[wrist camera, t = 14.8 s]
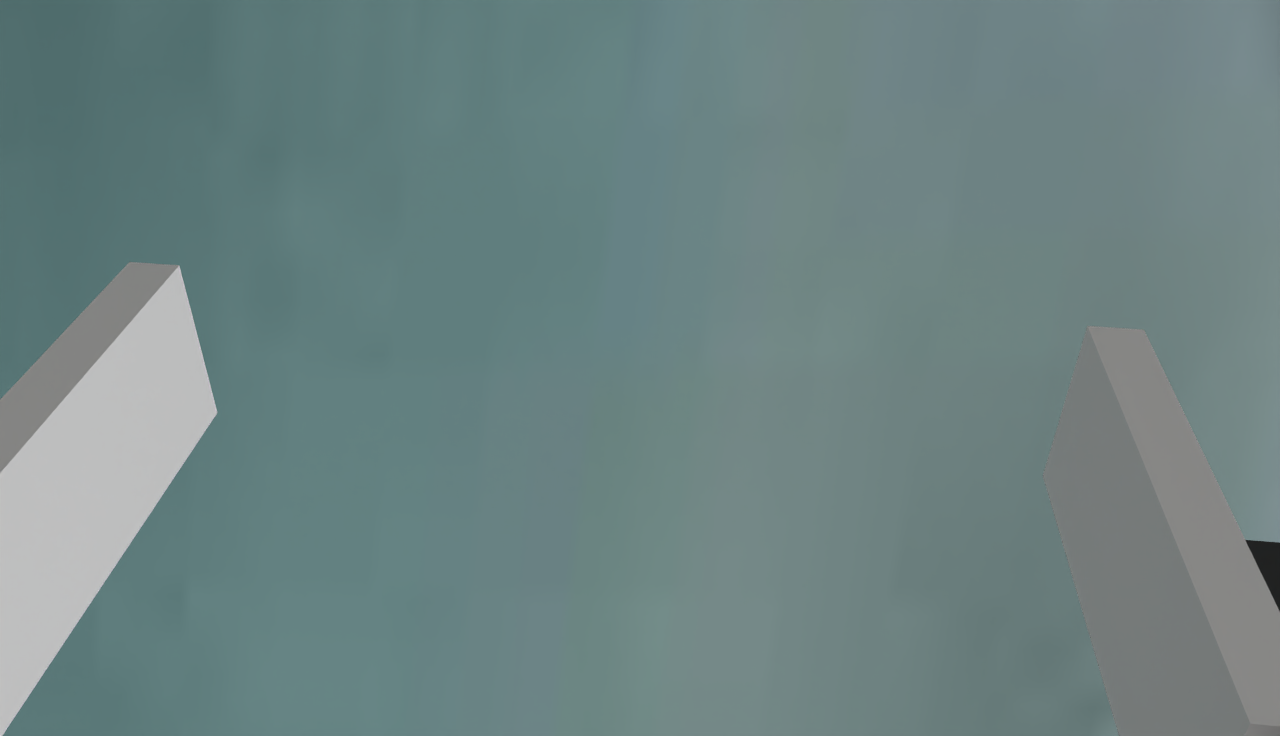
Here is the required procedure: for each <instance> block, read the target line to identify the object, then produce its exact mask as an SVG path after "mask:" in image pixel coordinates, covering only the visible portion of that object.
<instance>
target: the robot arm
mask: <svg viewBox="0 0 1280 736" xmlns="http://www.w3.org/2000/svg"><path fill="white" fill-rule="evenodd" d="M216 414H217V410H216V406H215V402H214V398H213V394H212V390H211V386H210V383H209V379H208V375H207V371H206V367H205V363H204V359H203V355H202V352H201V348H200V344H199V340H198V336H197V332H196V328H195V325H194V321H193V317H192V313H191V309H190V305H189V301H188V297H187V294H186V290H185V286H184V282H183V278H182V274H181V270H180V267H179V265H165V264H150V263H135V262H129V263H128V264H127V265H126V266H125V267H124V268H123V270H122V271H121V272H120V273H119V274H118V275H117V276H116V277H115V278H114V279H113V280H112V281H111V282H110V283H109V284H108V286H107V287H106V288H105V289H104V290H103V291H102V292H101V293H100V294H99V295H98V296H97V297H96V298H95V299H94V300H93V302H92V303H91V304H90V305H89V306H88V307H87V308H86V309H85V310H84V311H83V312H82V313H81V314H80V315H79V316H78V318H77V319H76V320H75V321H74V322H73V323H72V324H71V325H70V326H69V327H68V328H67V329H66V330H65V331H64V332H63V333H62V335H61V336H60V337H59V338H58V339H57V340H56V341H55V342H54V343H53V344H52V345H51V346H50V347H49V348H48V349H47V351H46V352H45V353H44V354H43V355H42V356H41V357H40V358H39V359H38V360H37V361H36V362H35V363H34V364H33V365H32V367H31V368H30V369H29V370H28V371H27V372H26V373H25V374H24V375H23V376H22V377H21V378H20V379H19V380H18V381H17V383H16V384H15V385H14V386H13V387H12V388H11V389H10V390H9V391H8V392H7V393H6V394H5V395H4V396H3V397H2V399H1V400H0V736H2V735H3V734H4V732H5V731H6V729H7V728H8V726H9V725H10V723H11V722H12V720H13V719H14V717H15V716H16V714H17V713H18V711H19V710H20V708H21V707H22V705H23V704H24V702H25V701H26V699H27V698H28V696H29V695H30V693H31V692H32V690H33V689H34V687H35V686H36V684H37V683H38V681H39V680H40V678H41V677H42V675H43V674H44V672H45V671H46V669H47V668H48V666H49V665H50V663H51V662H52V660H53V659H54V657H55V656H56V654H57V653H58V651H59V650H60V648H61V647H62V645H63V644H64V642H65V641H66V639H67V638H68V636H69V635H70V633H71V632H72V630H73V629H74V627H75V626H76V624H77V623H78V621H79V620H80V618H81V617H82V615H83V614H84V612H85V611H86V609H87V608H88V606H89V605H90V603H91V602H92V600H93V599H94V597H95V596H96V594H97V593H98V591H99V590H100V588H101V587H102V585H103V584H104V582H105V581H106V579H107V578H108V576H109V575H110V573H111V572H112V570H113V569H114V567H115V565H116V564H117V562H118V561H119V559H120V558H121V556H122V555H123V553H124V552H125V550H126V549H127V547H128V546H129V544H130V543H131V541H132V540H133V538H134V537H135V535H136V534H137V532H138V531H139V529H140V528H141V526H142V525H143V523H144V522H145V520H146V519H147V517H148V516H149V514H150V513H151V511H152V510H153V508H154V507H155V505H156V504H157V502H158V501H159V499H160V498H161V496H162V495H163V493H164V492H165V490H166V489H167V487H168V486H169V484H170V483H171V481H172V480H173V478H174V477H175V475H176V474H177V472H178V471H179V469H180V468H181V466H182V465H183V463H184V462H185V460H186V459H187V457H188V456H189V454H190V453H191V451H192V450H193V448H194V447H195V445H196V444H197V442H198V441H199V439H200V438H201V436H202V435H203V433H204V432H205V430H206V429H207V427H208V426H209V424H210V423H211V421H212V420H213V418H214V417H215V415H216ZM1043 478H1044V481H1045V485H1046V488H1047V492H1048V495H1049V498H1050V502H1051V505H1052V509H1053V512H1054V516H1055V519H1056V522H1057V526H1058V529H1059V533H1060V536H1061V539H1062V543H1063V546H1064V550H1065V553H1066V557H1067V560H1068V563H1069V567H1070V570H1071V574H1072V577H1073V580H1074V584H1075V587H1076V591H1077V594H1078V597H1079V601H1080V604H1081V608H1082V611H1083V615H1084V618H1085V621H1086V625H1087V628H1088V632H1089V635H1090V638H1091V642H1092V645H1093V649H1094V652H1095V656H1096V659H1097V662H1098V666H1099V669H1100V673H1101V676H1102V679H1103V683H1104V686H1105V690H1106V693H1107V697H1108V700H1109V703H1110V707H1111V710H1112V714H1113V717H1114V720H1115V724H1116V727H1117V731H1118V734H1119V736H1280V543H1276V542H1264V541H1251V540H1245V539H1244V537H1243V534H1242V532H1241V530H1240V528H1239V526H1238V524H1237V522H1236V520H1235V518H1234V516H1233V514H1232V512H1231V510H1230V507H1229V505H1228V503H1227V501H1226V499H1225V497H1224V495H1223V493H1222V491H1221V489H1220V487H1219V485H1218V483H1217V481H1216V478H1215V476H1214V474H1213V472H1212V470H1211V468H1210V466H1209V464H1208V462H1207V460H1206V458H1205V456H1204V454H1203V451H1202V449H1201V447H1200V445H1199V443H1198V441H1197V439H1196V437H1195V435H1194V433H1193V431H1192V429H1191V427H1190V425H1189V422H1188V420H1187V418H1186V416H1185V414H1184V412H1183V410H1182V408H1181V406H1180V404H1179V402H1178V400H1177V398H1176V395H1175V393H1174V391H1173V389H1172V387H1171V385H1170V383H1169V381H1168V379H1167V377H1166V375H1165V373H1164V371H1163V369H1162V366H1161V364H1160V362H1159V360H1158V358H1157V356H1156V354H1155V352H1154V350H1153V348H1152V346H1151V344H1150V342H1149V339H1148V337H1147V335H1146V333H1145V331H1144V330H1140V329H1125V328H1110V327H1095V326H1087V329H1086V332H1085V336H1084V339H1083V343H1082V346H1081V349H1080V353H1079V356H1078V359H1077V363H1076V366H1075V369H1074V373H1073V376H1072V379H1071V383H1070V386H1069V390H1068V393H1067V396H1066V400H1065V403H1064V406H1063V410H1062V413H1061V416H1060V420H1059V423H1058V426H1057V430H1056V433H1055V437H1054V440H1053V443H1052V447H1051V450H1050V453H1049V457H1048V460H1047V463H1046V467H1045V470H1044V473H1043Z"/></svg>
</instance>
